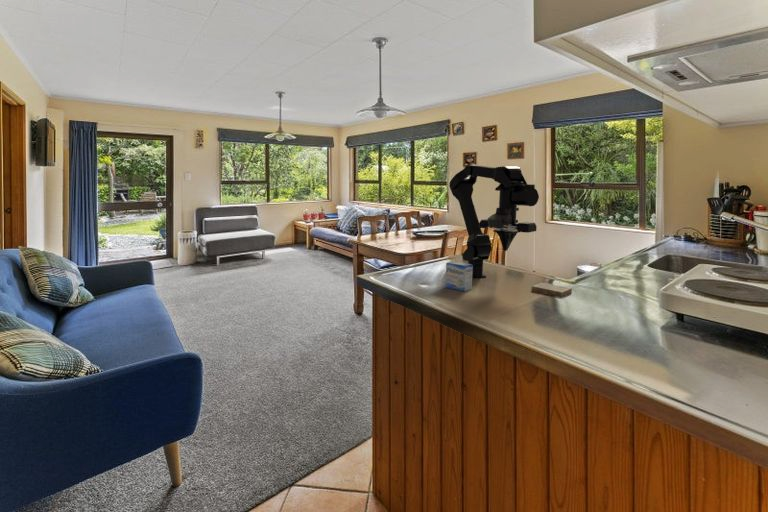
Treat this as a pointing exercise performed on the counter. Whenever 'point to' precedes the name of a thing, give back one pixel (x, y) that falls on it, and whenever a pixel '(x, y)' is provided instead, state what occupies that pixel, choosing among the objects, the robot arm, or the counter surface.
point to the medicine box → (458, 276)
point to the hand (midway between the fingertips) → (505, 250)
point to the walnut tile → (551, 289)
